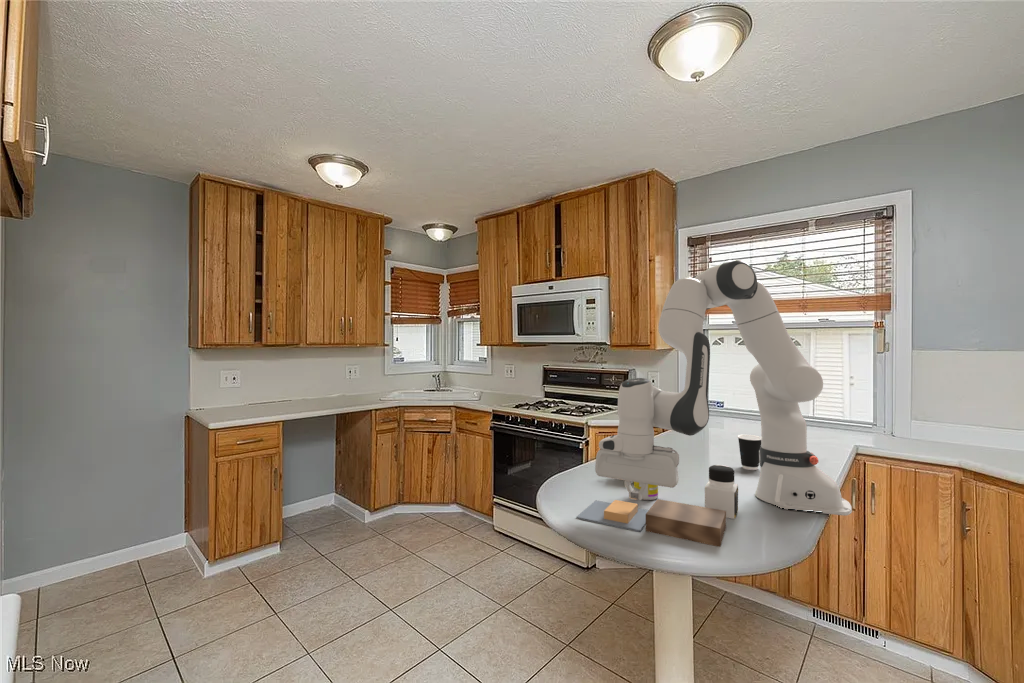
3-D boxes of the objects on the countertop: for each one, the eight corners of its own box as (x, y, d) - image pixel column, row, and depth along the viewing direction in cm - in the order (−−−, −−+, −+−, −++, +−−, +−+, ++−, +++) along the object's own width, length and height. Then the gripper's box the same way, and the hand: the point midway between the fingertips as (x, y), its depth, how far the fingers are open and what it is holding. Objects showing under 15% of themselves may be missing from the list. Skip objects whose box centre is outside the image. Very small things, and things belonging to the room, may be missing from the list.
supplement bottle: (659, 495, 131) (659, 450, 131) (656, 502, 125) (656, 456, 125) (635, 491, 134) (635, 448, 134) (631, 498, 128) (631, 453, 128)
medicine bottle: (735, 520, 112) (735, 471, 113) (704, 514, 116) (704, 467, 116) (738, 511, 119) (738, 465, 119) (708, 505, 122) (708, 461, 122)
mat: (654, 512, 117) (654, 511, 117) (640, 531, 105) (640, 530, 105) (595, 501, 126) (595, 500, 126) (576, 518, 113) (576, 516, 113)
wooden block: (726, 527, 108) (726, 510, 108) (720, 547, 97) (720, 528, 98) (657, 514, 116) (657, 499, 116) (645, 531, 106) (645, 514, 106)
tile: (615, 499, 120) (615, 507, 120) (604, 510, 112) (604, 518, 112) (637, 503, 117) (637, 511, 117) (627, 515, 109) (627, 523, 109)
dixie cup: (768, 469, 157) (768, 438, 157) (750, 472, 154) (750, 440, 154) (749, 464, 164) (749, 434, 164) (732, 466, 162) (732, 435, 162)
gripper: (681, 446, 110) (681, 502, 110) (601, 437, 121) (601, 488, 121) (676, 451, 105) (676, 510, 105) (592, 441, 115) (592, 495, 115)
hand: (635, 498), depth 113 cm, fingers closed
